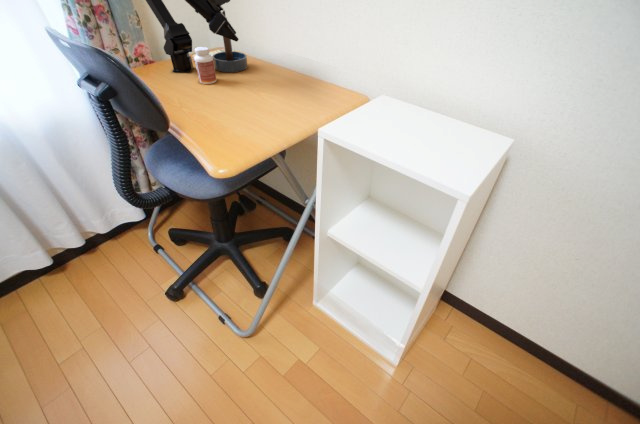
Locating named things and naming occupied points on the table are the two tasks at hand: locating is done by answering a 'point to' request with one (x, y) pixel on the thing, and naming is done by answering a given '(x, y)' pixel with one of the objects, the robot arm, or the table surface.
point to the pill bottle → (204, 65)
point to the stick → (228, 49)
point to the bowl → (230, 62)
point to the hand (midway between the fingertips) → (236, 37)
